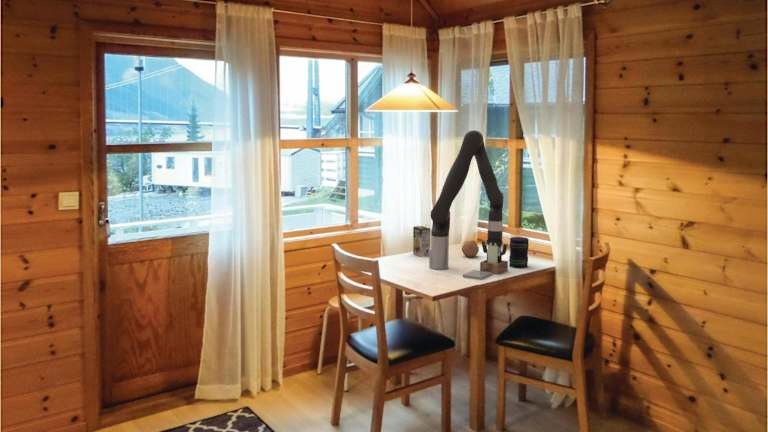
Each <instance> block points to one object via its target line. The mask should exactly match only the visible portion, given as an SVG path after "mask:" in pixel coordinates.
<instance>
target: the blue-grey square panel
mask: <svg viewBox="0 0 768 432" xmlns="http://www.w3.org/2000/svg"><path fill="white" fill-rule="evenodd" d="M492 275H493V274H492V272H485V271H480V270H476V269H473V270H470V271H468V272H466V273H464V274H462V277H463V278H466V279H472V280H479V281H480V280H485V279H486V278H488V277H491V276H492Z"/></svg>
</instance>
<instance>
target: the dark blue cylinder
mask: <svg viewBox="0 0 768 432" xmlns="http://www.w3.org/2000/svg"><path fill="white" fill-rule="evenodd" d="M529 241H530V240H529V238H528V237H523V236H513V237H510V238H509V259H508V261H509V262H508V267H509V268H514V269H526V268H528V267H529V266H528V263H529V256H528V254H529V253H528V251H529Z"/></svg>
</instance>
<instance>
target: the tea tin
mask: <svg viewBox="0 0 768 432" xmlns="http://www.w3.org/2000/svg"><path fill="white" fill-rule="evenodd" d="M498 249H500V248H498V246H493V245H492V246H490V245H488V244H487V250H488V263H492V264H501V262H500V263H498Z"/></svg>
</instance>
